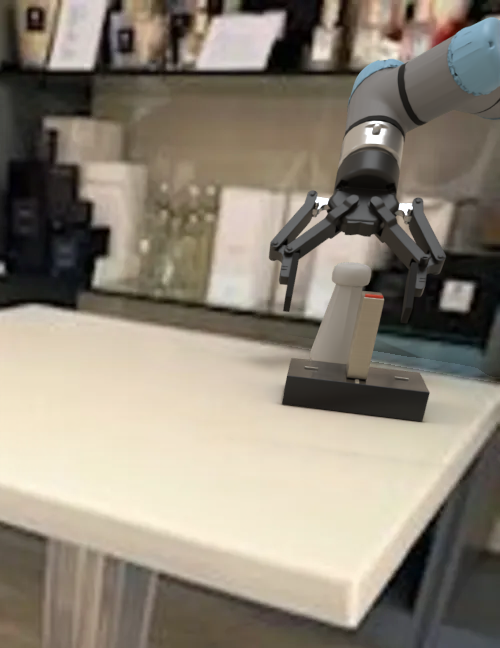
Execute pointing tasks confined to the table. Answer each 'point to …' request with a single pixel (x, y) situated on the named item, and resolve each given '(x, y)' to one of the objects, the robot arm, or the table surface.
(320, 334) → the salt shaker
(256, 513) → the table surface
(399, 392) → the rectangular base
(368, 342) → the beige rectangular block
